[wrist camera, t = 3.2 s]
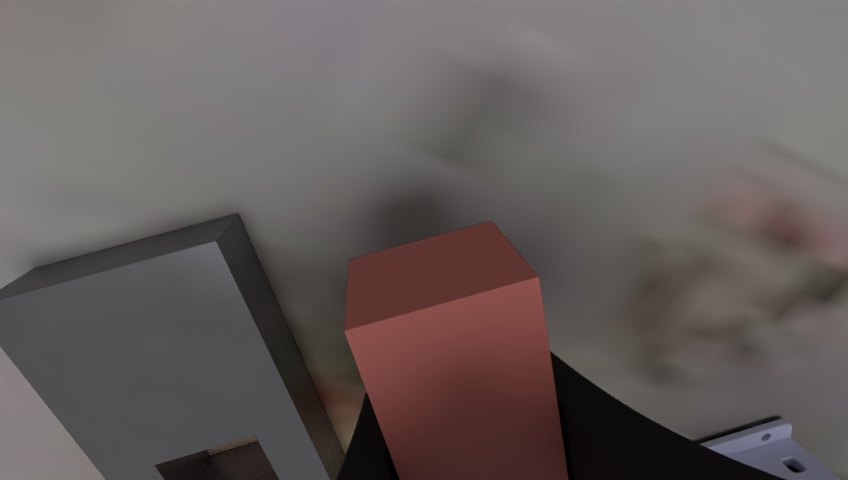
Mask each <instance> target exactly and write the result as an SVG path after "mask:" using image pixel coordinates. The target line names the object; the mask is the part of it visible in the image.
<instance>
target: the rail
mask: <svg viewBox="0 0 848 480" xmlns="http://www.w3.org/2000/svg"><path fill="white" fill-rule="evenodd" d="M0 346H1V348H2V349H3V350H4V351H5V353H6V354H7V355H8V357H9V358H10V359H11V360H12V362H13V363H14V364H15V365H16V367H17V368H18V369H19V370H20V372H21V373H22V374H23V376H24V377H25V378H26V379H27V381H28V382H29V383H30V384H31V386H32V387H33V388H34V389H35V391H36V392H37V393H38V394H39V396H40V397H41V398H42V400H43V401H44V402H45V403H46V405H47V406H48V407H49V408H50V410H51V411H52V412H53V413H54V415H55V416H56V417H57V419H58V420H59V421H60V422H61V424H62V425H63V426H64V427H65V429H66V430H67V431H68V432H69V434H70V435H71V436H72V437H73V439H74V440H75V441H76V443H77V444H78V445H79V446H80V448H81V449H82V450H83V451H84V453H85V454H86V455H87V456H88V458H89V459H90V460H91V461H92V463H93V464H94V465H95V467H96V468H97V469H98V470H99V472H100V473H101V474H102V475H103V477H104V478H105V479H106V480H336V478H337V475H338V473H339V471H340V468H341V466H342V464H343V461H344V459H345V454H344V452H343V450H342V447H341V445H340V443H339V441H338V438H337V436H336V434H335V431H334V429H333V427H332V425H331V422H330V420H329V418H328V416H327V413H326V411H325V409H324V407H323V404H322V402H321V400H320V398H319V395H318V393H317V391H316V388H315V386H314V384H313V382H312V379H311V377H310V375H309V373H308V370H307V368H306V366H305V364H304V361H303V359H302V357H301V355H300V352H299V350H298V348H297V346H296V343H295V341H294V339H293V336H292V334H291V332H290V330H289V327H288V325H287V323H286V321H285V318H284V316H283V314H282V312H281V309H280V307H279V305H278V303H277V300H276V298H275V296H274V293H273V291H272V289H271V287H270V284H269V282H268V280H267V278H266V275H265V273H264V271H263V269H262V266H261V264H260V262H259V260H258V257H257V255H256V253H255V251H254V248H253V246H252V244H251V241H250V239H249V237H248V235H247V232H246V230H245V228H244V226H243V223H242V221H241V219H240V217H239V214H234V215H230V216H227V217H223V218H219V219H216V220H212V221H208V222H204V223H201V224H197V225H193V226H190V227H186V228H182V229H179V230H175V231H171V232H168V233H164V234H160V235H157V236H153V237H149V238H146V239H142V240H138V241H135V242H131V243H127V244H123V245H120V246H116V247H112V248H109V249H105V250H101V251H98V252H94V253H90V254H87V255H83V256H79V257H76V258H72V259H68V260H65V261H61V262H57V263H54V264H50V265H46V266H42V267H39V268H35V269H32V270H30V271H29V272H27V273H26V274H24V275H22V276H21V277H19V278H18V279H16V280H14V281H13V282H11V283H10V284H8V285H6V286H5V287H3V288H2V289H0ZM251 436H256V438H257V440H258V441H259V442H256V443H253V444H249V445H246V446H243V447H239V448H236V449H232V450H229V451H226V452H222V453H219V454H215V455H212V456H208V454H207V452H206V451H205V450H207V449H211V448H214V447H217V446H221V445H224V444H228V443H231V442H234V441H238V440H241V439H245V438H248V437H251Z"/></svg>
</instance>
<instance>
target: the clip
mask: <svg viewBox="0 0 848 480" xmlns="http://www.w3.org/2000/svg"><path fill="white" fill-rule="evenodd" d="M344 332H345V335H346V337H347V340H348V343H349V345H350V348H351V351H352V353H353V356H354V359H355V361H356V364H357V367H358V369H359V372H360V375H361V377H362V380H363V383H364V385H365V388H366V391H367V393H368V396H369V399H370V401H371V404H372V407H373V409H374V412H375V415H376V417H377V420H378V423H379V425H380V428H381V431H382V433H383V436H384V439H385V441H386V444H387V447H388V449H389V452H390V455H391V458H392V460H393V463H394V466H395V468H396V471H397V474H398V476H399V479H400V480H569V479H568V472H567V465H566V459H565V452H564V445H563V438H562V431H561V424H560V417H559V410H558V404H557V397H556V390H555V383H554V376H553V369H552V362H551V356H550V349H549V342H548V335H547V328H546V321H545V314H544V308H543V301H542V294H541V287H540V280H539V276H538V275H537V274H536V273H535V271H534V270H533V269H532V268H531V267H530V266H529V264H528V263H527V262H526V261H525V260H524V259H523V257H522V256H521V255H520V254H519V253H518V251H517V250H516V249H515V248H514V247H513V246H512V244H511V243H510V242H509V241H508V240H507V239H506V237H505V236H504V235H503V234H502V233H501V231H500V230H499V229H498V228H497V227H496V226H495V224H494V223H493V222H492V221H488V222H484V223H481V224H477V225H473V226H470V227H466V228H462V229H459V230H455V231H451V232H448V233H444V234H440V235H437V236H433V237H429V238H426V239H422V240H418V241H415V242H411V243H407V244H404V245H400V246H396V247H393V248H389V249H385V250H382V251H378V252H374V253H371V254H367V255H363V256H360V257H356V258H352V259H349V268H348V283H347V298H346V312H345V327H344Z"/></svg>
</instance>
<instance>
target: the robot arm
mask: <svg viewBox="0 0 848 480" xmlns="http://www.w3.org/2000/svg"><path fill="white" fill-rule="evenodd" d="M550 356H551V362H552V369H553V376H554V383H555V390H556V397H557V404H558V410H559V417H560V424H561V431H562V438H563V445H564V452H565V459H566V465H567V472H568V479H569V480H841V479H840V478H839V477H837V476H836V475H835V474H834V473H833V472H832V471H830V470H829V469H828V468H827V467H826V466H825V465H823V464H822V463H821V462H820V461H819V460H818V459H816V458H815V457H814V456H813V455H812V454H810V453H809V452H808V451H807V450H806V449H805V448H803V447H802V446H801V445H800V444H799V443H798V442H796V441H795V440H794V439H793V438H792V437H791V433H792V426H791V425H790V424H789V423H788V422H787V421H786V420H784V419H779V420H775V421H772V422H769V423H765V424H762V425H759V426H756V427H752V428H749V429H746V430H743V431H740V432H736V433H733V434H730V435H727V436H723V437H720V438H717V439H714V440H710V441H707V442H704V443H701V444H698V443H696V442H693V441H691V440H689V439H687V438H685V437H683V436H681V435H679V434H677V433H675V432H673V431H671V430H669V429H667V428H665V427H663V426H662V425H660V424H658V423H656V422H654V421H652V420H651V419H649V418H647V417H645V416H643V415H642V414H640V413H638V412H637V411H635V410H633V409H632V408H630V407H628V406H627V405H625V404H624V403H622V402H620V401H619V400H617V399H616V398H614V397H612V396H611V395H609V394H608V393H606V392H605V391H603V390H602V389H600V388H599V387H598V386H596V385H595V384H593V383H592V382H590V381H589V380H588V379H586V378H585V377H583V376H582V375H581V374H579V373H578V372H577V371H575V370H574V369H573V368H571V367H570V366H569V365H567V364H566V363H565V362H563V361H562V360H561V359H560V358H558V357H557V356H556V355H555V354H553V353H552V352H551V351H550ZM336 480H400V479H399V476H398V474H397V471H396V468H395V466H394V463H393V460H392V458H391V455H390V452H389V449H388V447H387V444H386V441H385V439H384V436H383V433H382V431H381V428H380V425H379V423H378V420H377V417H376V415H375V412H374V409H373V407H372V404H371V401H370V399H369V396H368V393H366V394H365V397H364V401H363V405H362V408H361V412H360V415H359V418H358V422H357V425H356V428H355V431H354V434H353V437H352V439H351V442H350V445H349V448H348V450H347V453H346V456H345V459H344V461H343V464H342V466H341V468H340V471H339V473H338V475H337V478H336Z"/></svg>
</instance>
